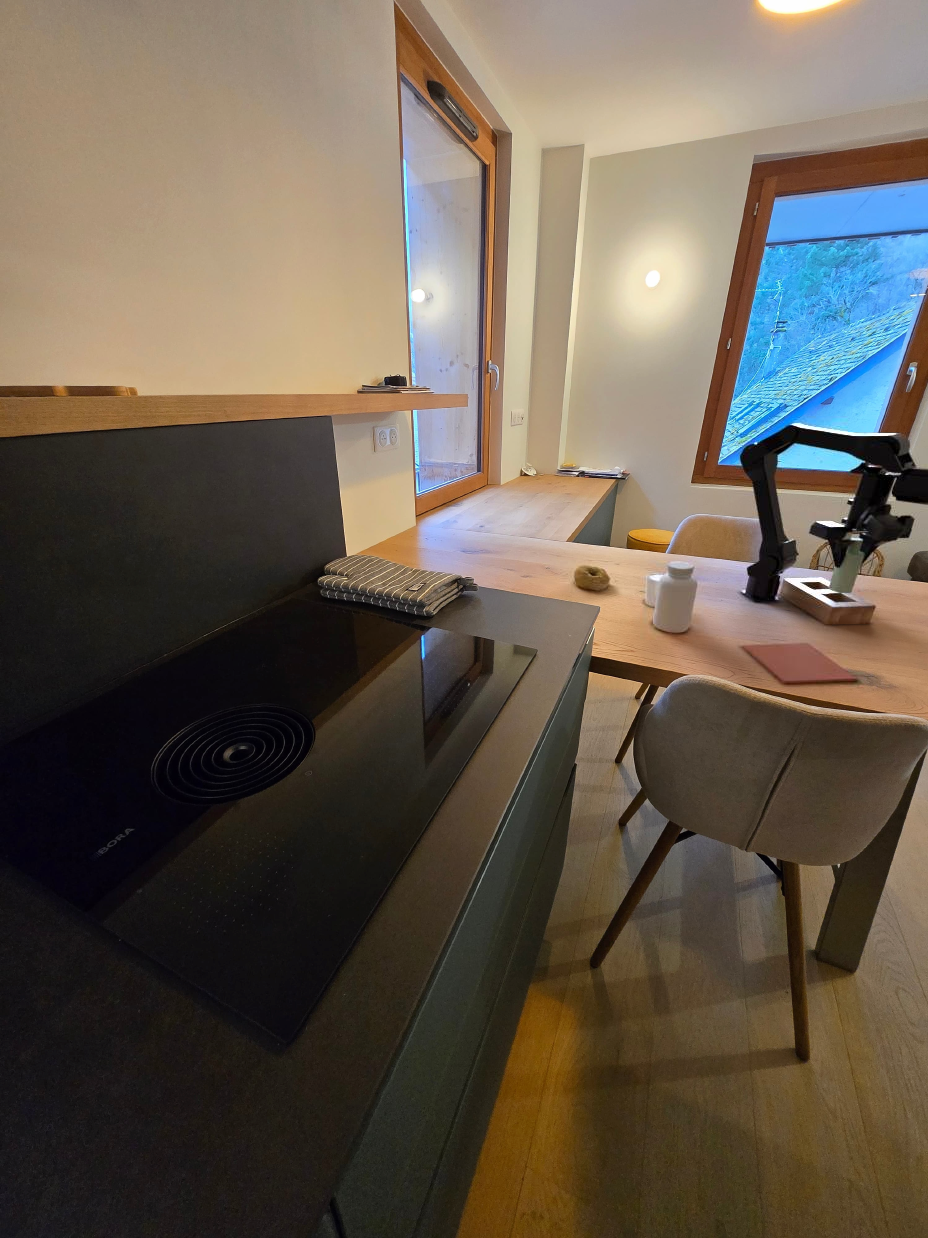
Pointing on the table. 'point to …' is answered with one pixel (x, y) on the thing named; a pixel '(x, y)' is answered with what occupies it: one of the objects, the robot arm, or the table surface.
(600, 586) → the bagel
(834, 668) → the mat
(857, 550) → the bottle
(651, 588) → the white short cylinder
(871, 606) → the holder
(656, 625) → the pill bottle
